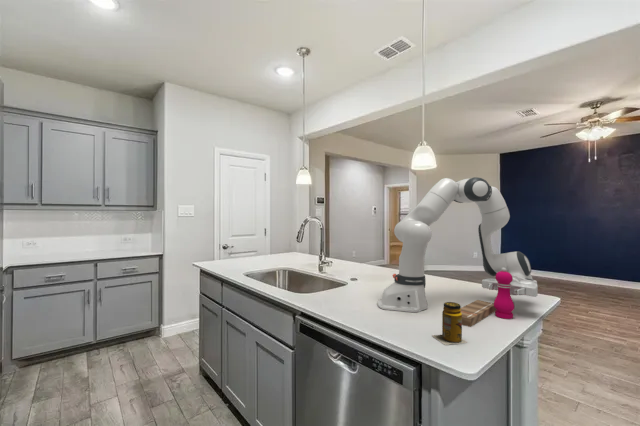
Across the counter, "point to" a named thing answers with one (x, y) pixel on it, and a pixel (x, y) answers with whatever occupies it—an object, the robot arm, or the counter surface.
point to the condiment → (451, 324)
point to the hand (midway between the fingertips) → (503, 289)
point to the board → (476, 312)
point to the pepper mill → (504, 295)
